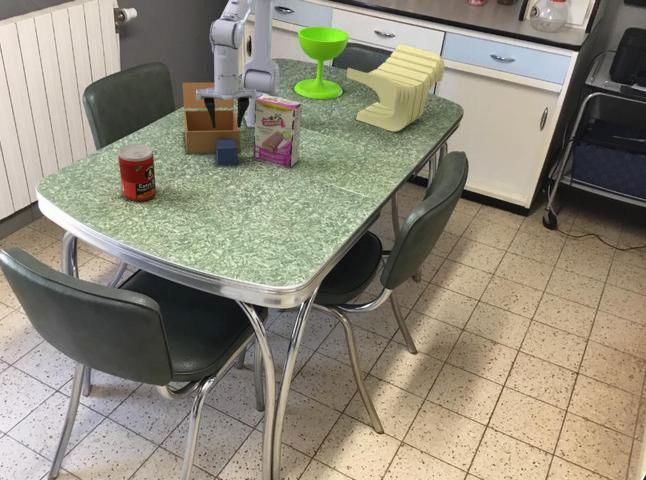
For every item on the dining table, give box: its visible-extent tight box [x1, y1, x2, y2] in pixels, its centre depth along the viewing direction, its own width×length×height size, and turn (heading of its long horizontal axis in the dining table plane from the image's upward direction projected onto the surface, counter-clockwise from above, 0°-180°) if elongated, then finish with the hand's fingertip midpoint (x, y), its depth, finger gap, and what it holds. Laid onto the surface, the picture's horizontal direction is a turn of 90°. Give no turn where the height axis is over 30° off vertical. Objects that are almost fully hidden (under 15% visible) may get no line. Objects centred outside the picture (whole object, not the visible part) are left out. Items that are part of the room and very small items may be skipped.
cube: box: [215, 140, 238, 166], centre depth 165 cm, size 5×5×5 cm
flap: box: [182, 82, 235, 109], centre depth 176 cm, size 7×14×1 cm
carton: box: [183, 109, 241, 154], centre depth 173 cm, size 14×14×6 cm
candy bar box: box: [253, 94, 303, 168], centre depth 164 cm, size 11×5×16 cm, turn 65°
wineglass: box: [293, 26, 350, 100], centre depth 205 cm, size 16×16×18 cm
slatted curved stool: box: [346, 43, 445, 133], centre depth 188 cm, size 30×16×18 cm, turn 144°
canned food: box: [117, 143, 157, 202], centre depth 148 cm, size 8×8×11 cm
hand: (226, 126), depth 160 cm, fingers open, 6 cm apart
